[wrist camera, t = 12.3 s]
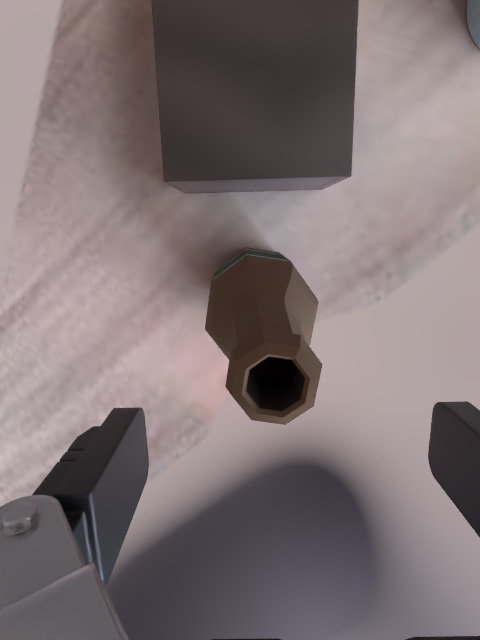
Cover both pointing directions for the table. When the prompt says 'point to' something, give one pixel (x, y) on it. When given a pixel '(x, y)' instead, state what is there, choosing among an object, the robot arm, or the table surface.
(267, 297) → the beer bottle
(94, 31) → the table surface
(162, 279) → the table surface
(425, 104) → the table surface
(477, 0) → the drinking glass
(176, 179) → the cabinet
